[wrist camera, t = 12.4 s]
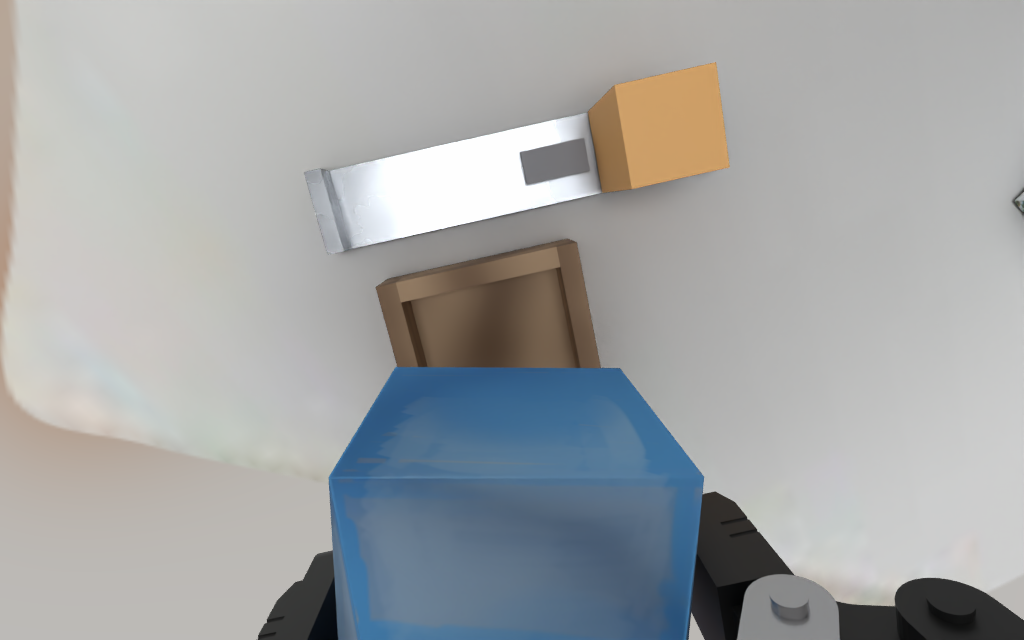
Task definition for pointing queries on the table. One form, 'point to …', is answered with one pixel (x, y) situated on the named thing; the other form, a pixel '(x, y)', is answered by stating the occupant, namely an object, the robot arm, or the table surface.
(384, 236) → the rail
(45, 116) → the table surface
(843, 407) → the table surface
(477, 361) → the tray
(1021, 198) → the syrup box
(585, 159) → the tan rectangular block
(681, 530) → the perfume bottle
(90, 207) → the table surface
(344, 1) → the table surface
